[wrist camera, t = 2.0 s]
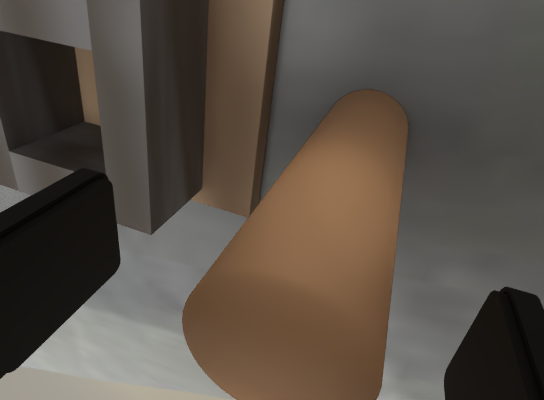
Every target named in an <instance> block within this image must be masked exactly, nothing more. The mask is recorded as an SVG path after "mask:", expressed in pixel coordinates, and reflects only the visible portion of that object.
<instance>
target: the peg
mask: <svg viewBox="0 0 544 400" xmlns="http://www.w3.org/2000/svg"><path fill="white" fill-rule="evenodd" d="M407 138H408V121H407V117H406V114H405V112H404V110H403V108H402V107H401V106H400V104H399V103H398V102H397V101H396V100H395V99H393V98H392V97H391V96H389V95H387V94H385V93H383V92H380V91H377V90H367V89H365V90H358V91H354V92H351V93H349V94H347V95H345V96H343V97H342V98H341V99H339V100H338V101H337V102H336V103H335V104H334V106H333V107H332V108H331V110H330V111H329V112H328V114H327V115H326V116H325V118H324V119H323V120H322V121H321V123H320V124H319V125H318V127H317V128H316V129H315V131H314V132H313V133H312V135H311V136H310V137H309V139H308V140H307V141H306V143H305V144H304V145H303V147H302V148H301V149H300V150H299V152H298V153H297V154H296V156H295V157H294V158H293V160H292V161H291V162H290V164H289V165H288V166H287V168H286V169H285V170H284V172H283V173H282V174H281V176H280V177H279V178H278V179H277V181H276V182H275V183H274V185H273V186H272V187H271V189H270V190H269V191H268V193H267V194H266V195H265V197H264V198H263V199H262V201H261V202H260V203H259V204H258V206H257V207H256V208H255V210H254V211H253V212H252V214H251V215H250V216H249V218H248V219H247V220H246V222H245V223H244V224H243V226H242V227H241V228H240V230H239V231H238V232H237V233H236V235H235V236H234V237H233V239H232V240H231V241H230V243H229V244H228V245H227V247H226V248H225V249H224V251H223V252H222V253H221V255H220V256H219V257H218V259H217V260H216V261H215V262H214V264H213V265H212V266H211V268H210V269H209V270H208V272H207V273H206V274H205V276H204V277H203V278H202V280H201V281H200V282H199V284H198V285H197V286H196V288H195V289H194V290H193V291H192V293H191V294H190V295H189V297H188V299H187V301H186V303H185V306H184V310H183V317H182V324H183V332H184V336H185V339H186V342H187V345H188V347H189V349H190V351H191V353H192V355H193V357H194V358H195V360H196V361H197V363H198V364H199V366H200V367H201V368H202V369H203V371H204V372H205V373H206V374H207V375H208V376H209V377H210V378H211V379H212V381H213V382H215V383H216V384H217V385H218V386H219V387H220V388H221V389H222V390H224V391H225V392H226V393H228V394H229V395H230V396H232V397H233V398H235V399H236V400H376V399H377V397H378V396H379V393H380V390H381V387H382V378H383V368H384V359H385V349H386V339H387V330H388V320H389V311H390V301H391V291H392V282H393V272H394V263H395V253H396V243H397V234H398V224H399V215H400V205H401V195H402V186H403V176H404V167H405V157H406V147H407Z"/></svg>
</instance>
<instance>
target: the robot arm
mask: <svg viewBox="0 0 544 400" xmlns="http://www.w3.org/2000/svg"><path fill="white" fill-rule="evenodd" d="M119 265H120V250H119V241H118V231H117V221H116V212H115V202H114V193H113V185H112V183H111V181H109V179H108V177H107V175H106V174H104V173H101V172H98V171H94V170H91V169H87V168H81V169H78V170H77V171H75V172H73V173H71V174H69V175H68V176H66V177H64V178H62V179H60V180H59V181H57V182H55V183H53V184H51V185H50V186H48V187H46V188H44V189H42V190H40V191H39V192H37V193H35V194H33V195H31V196H30V197H28V198H26V199H24V200H22V201H21V202H19V203H17V204H15V205H13V206H12V207H10V208H8V209H6V210H4V211H3V212H1V213H0V379H1V378H2V377H3V376H4V375H5V374H6V373H10V372H12V371H14V370H16V368H18V367H19V366H20V365H21V364H22V363H23V362H24V361H25V360H26V359H27V358H28V357H30V356H31V355H32V354H33V353H34V352H35V351H36V350H37V349H38V348H39V347H40V346H41V345H42V344H43V343H44V342H45V341H46V340H47V339H48V338H49V337H50V336H51V335H52V334H53V333H54V332H55V331H56V330H57V329H58V328H59V327H60V326H61V325H62V324H63V323H64V322H65V321H66V320H67V319H68V318H70V317H71V316H72V315H73V314H74V313H75V312H76V311H77V310H78V309H79V308H80V307H81V306H82V305H83V304H84V303H85V302H86V301H87V300H88V299H89V298H90V297H91V296H92V295H93V294H94V293H95V292H96V291H97V290H98V289H99V288H100V287H101V286H102V285H103V284H104V283H105V282H106V281H107V280H109V279H110V278H111V277H112V276H113V275H114V274H115V272H116V271H117V270H118V268H119ZM444 390H445V400H544V309H543V307H542V304H541V302H540V300H539V298H538V296H536V295H534V294H531V293H527V292H524V291H520V290H517V289H513V288H509V287H504V288H503V289H501V290H500V292H499V291H492V292H491V293H490V294H489V296H488V297H487V299H486V301H485V303H484V304H483V306H482V308H481V310H480V311H479V313H478V315H477V317H476V318H475V320H474V322H473V324H472V325H471V327H470V329H469V330H468V332H467V334H466V336H465V337H464V339H463V341H462V343H461V344H460V346H459V348H458V350H457V351H456V353H455V355H454V357H453V358H452V360H451V362H450V364H449V365H448V367H447V369H446V372H445V377H444Z"/></svg>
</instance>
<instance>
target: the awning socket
mask: <svg viewBox="0 0 544 400" xmlns="http://www.w3.org/2000/svg"><path fill="white" fill-rule="evenodd" d="M283 4H284V0H0V185H3V186H6V187H9V188H12V189H15V190H18V191H21V192H24V193H27V194H30V195H33V194H35V193H37V192H39V191H40V190H42V189H44V188H46V187H48V186H50V185H51V184H53V183H55V182H57V181H59V180H60V179H62V178H64V177H66V176H68V175H69V174H71V173H73V172H75V171H77V170H78V169H81V168H87V169H91V170H94V171H98V172H101V173H104V174H106V175H107V177H108V179H109V181H111V183H112V185H113V193H114V202H115V212H116V221H117V224H120V225H123V226H126V227H129V228H132V229H135V230H138V231H141V232H144V233H147V234H150V235H152V234H153V233H154V232H155V231H156V230H157V229H158V228H159V227H161V226H162V225H163V224H164V223H165V222H166V221H167V220H168V219H169V218H170V217H172V216H173V215H174V214H175V213H176V212H177V211H178V210H179V209H180V208H182V207H183V206H184V205H185V204H186V203H187V202H188V201H189V200H193V201H196V202H199V203H203V204H206V205H209V206H212V207H216V208H219V209H222V210H226V211H229V212H232V213H236V214H239V215H242V216H245V217H249V216H250V215H251V214H252V212H253V211H254V210H255V208H256V207H257V206H258V204H259V196H260V188H261V180H262V172H263V164H264V156H265V148H266V140H267V132H268V124H269V116H270V108H271V100H272V92H273V84H274V76H275V68H276V60H277V52H278V44H279V36H280V28H281V20H282V12H283Z"/></svg>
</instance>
